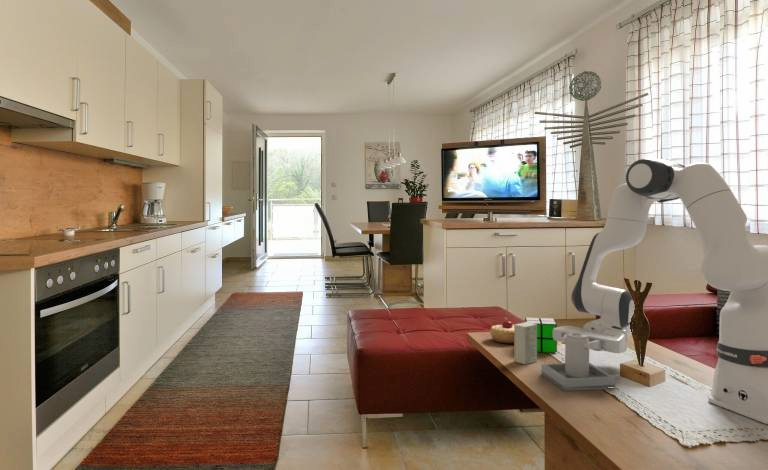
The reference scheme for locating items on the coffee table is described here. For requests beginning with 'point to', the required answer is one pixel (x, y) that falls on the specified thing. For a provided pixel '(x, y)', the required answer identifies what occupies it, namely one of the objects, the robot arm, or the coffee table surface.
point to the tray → (566, 383)
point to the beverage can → (576, 355)
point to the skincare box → (525, 342)
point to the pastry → (503, 332)
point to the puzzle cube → (544, 334)
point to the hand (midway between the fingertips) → (574, 343)
